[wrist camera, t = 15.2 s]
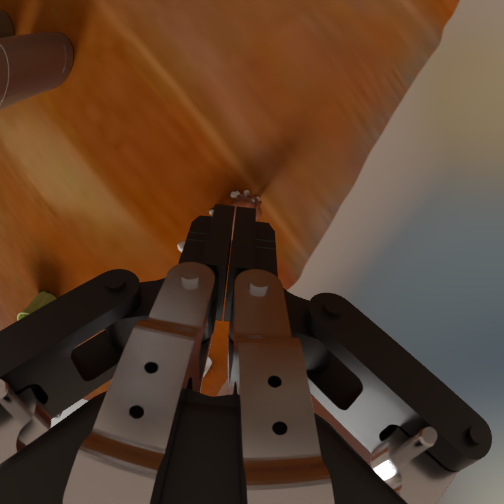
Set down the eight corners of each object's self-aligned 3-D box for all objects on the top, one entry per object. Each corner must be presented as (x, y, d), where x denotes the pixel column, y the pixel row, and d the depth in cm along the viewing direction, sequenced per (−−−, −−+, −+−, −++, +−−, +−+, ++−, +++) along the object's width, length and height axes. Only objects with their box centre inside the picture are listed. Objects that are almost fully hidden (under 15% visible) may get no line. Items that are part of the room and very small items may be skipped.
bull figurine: (181, 221, 48) (168, 253, 42) (253, 176, 43) (252, 203, 37) (198, 241, 50) (189, 274, 44) (270, 199, 46) (272, 229, 39)
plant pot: (54, 318, 65) (40, 345, 58) (27, 292, 60) (11, 319, 53) (73, 308, 62) (59, 337, 55) (44, 279, 57) (26, 308, 50)
